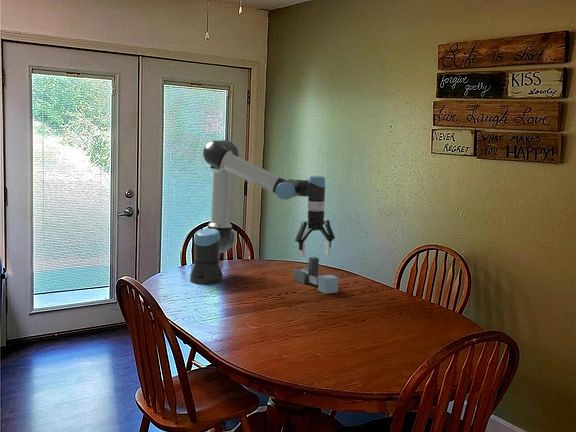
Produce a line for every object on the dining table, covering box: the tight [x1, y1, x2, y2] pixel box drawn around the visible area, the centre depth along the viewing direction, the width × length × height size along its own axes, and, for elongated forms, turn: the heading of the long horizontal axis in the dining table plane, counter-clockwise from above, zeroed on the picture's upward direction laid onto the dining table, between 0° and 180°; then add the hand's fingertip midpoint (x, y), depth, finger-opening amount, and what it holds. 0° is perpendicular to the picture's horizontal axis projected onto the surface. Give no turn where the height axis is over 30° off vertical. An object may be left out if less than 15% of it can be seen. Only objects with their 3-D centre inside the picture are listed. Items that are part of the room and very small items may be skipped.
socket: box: [317, 274, 339, 295], centre depth 263 cm, size 6×7×7 cm
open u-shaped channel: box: [293, 266, 311, 285], centre depth 280 cm, size 9×7×5 cm
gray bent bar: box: [300, 256, 320, 286], centre depth 276 cm, size 16×3×11 cm, turn 30°
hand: (314, 255), depth 273 cm, fingers open, 13 cm apart
